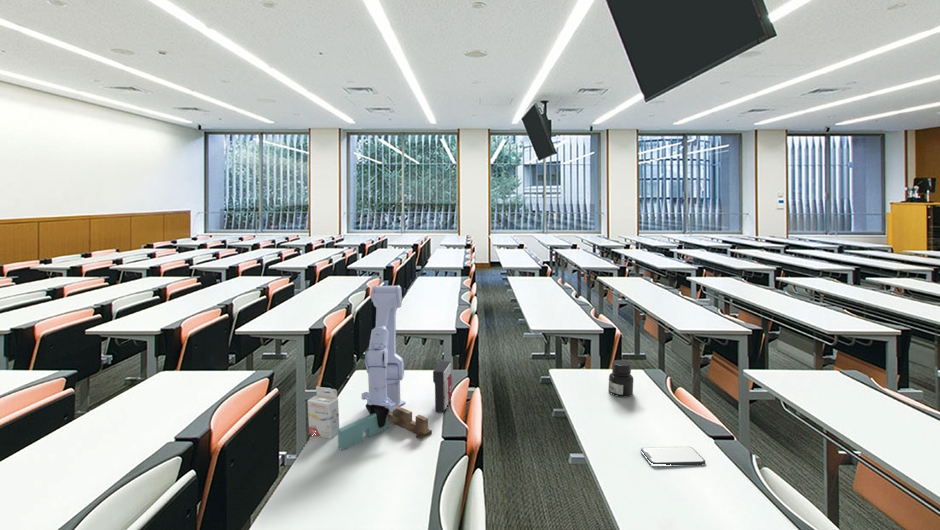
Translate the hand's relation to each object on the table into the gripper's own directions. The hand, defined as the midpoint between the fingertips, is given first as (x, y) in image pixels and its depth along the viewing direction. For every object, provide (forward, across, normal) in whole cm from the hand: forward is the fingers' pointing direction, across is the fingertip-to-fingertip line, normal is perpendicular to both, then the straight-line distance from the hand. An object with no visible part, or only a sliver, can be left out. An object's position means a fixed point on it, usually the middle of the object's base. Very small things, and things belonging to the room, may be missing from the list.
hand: (379, 425), depth 160 cm
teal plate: (+2, 0, -6) cm, 6 cm away
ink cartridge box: (+2, -12, -12) cm, 17 cm away
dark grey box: (+2, +4, +26) cm, 27 cm away
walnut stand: (+2, +4, +6) cm, 8 cm away
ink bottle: (+2, +49, +78) cm, 92 cm away
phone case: (+2, +79, +43) cm, 90 cm away
